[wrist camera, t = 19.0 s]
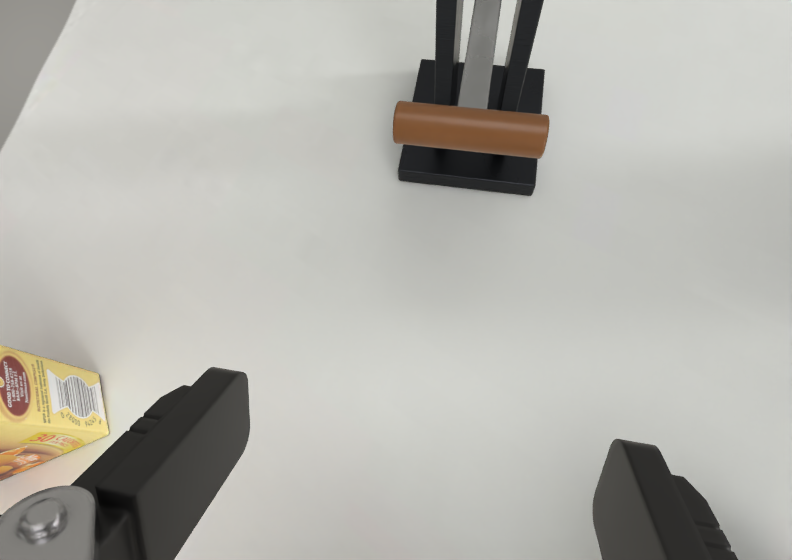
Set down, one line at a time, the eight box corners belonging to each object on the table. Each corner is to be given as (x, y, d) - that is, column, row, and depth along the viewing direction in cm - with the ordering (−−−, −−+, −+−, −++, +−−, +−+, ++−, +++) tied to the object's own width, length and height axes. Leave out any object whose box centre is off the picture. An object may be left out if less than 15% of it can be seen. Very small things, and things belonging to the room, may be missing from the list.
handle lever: (536, 173, 18) (551, 132, 16) (394, 158, 19) (390, 116, 17) (554, -49, 23) (567, -104, 21) (440, -56, 24) (442, -109, 22)
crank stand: (531, 196, 32) (610, -16, 18) (398, 180, 33) (378, -30, 19) (541, 81, 35) (613, -167, 22) (421, 71, 36) (417, -172, 23)
